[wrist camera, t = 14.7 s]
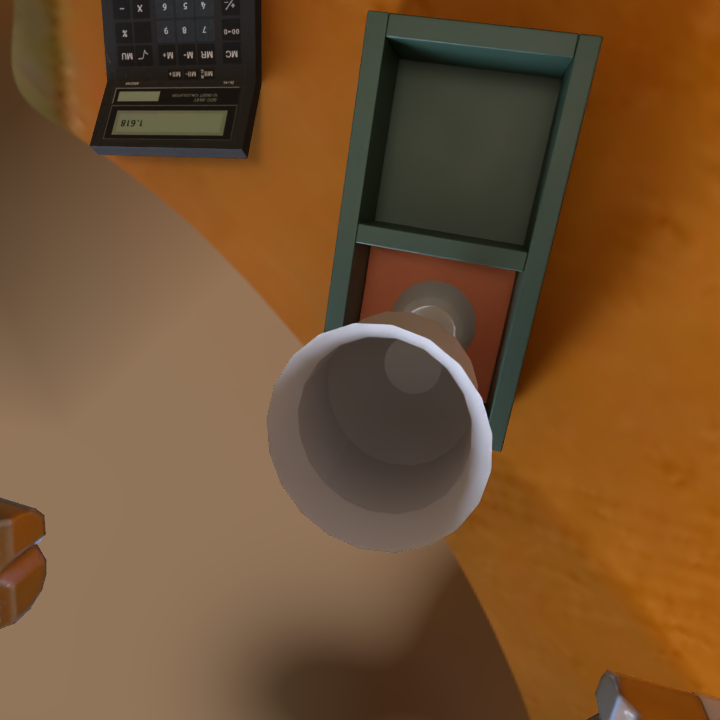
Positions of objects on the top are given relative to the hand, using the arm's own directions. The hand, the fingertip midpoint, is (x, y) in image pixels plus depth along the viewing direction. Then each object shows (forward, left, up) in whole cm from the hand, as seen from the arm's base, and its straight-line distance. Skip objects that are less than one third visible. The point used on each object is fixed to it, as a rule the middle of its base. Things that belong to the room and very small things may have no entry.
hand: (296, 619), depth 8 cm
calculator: (+18, -11, -28) cm, 35 cm away
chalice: (0, +1, -27) cm, 27 cm away
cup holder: (+1, -3, -28) cm, 28 cm away
